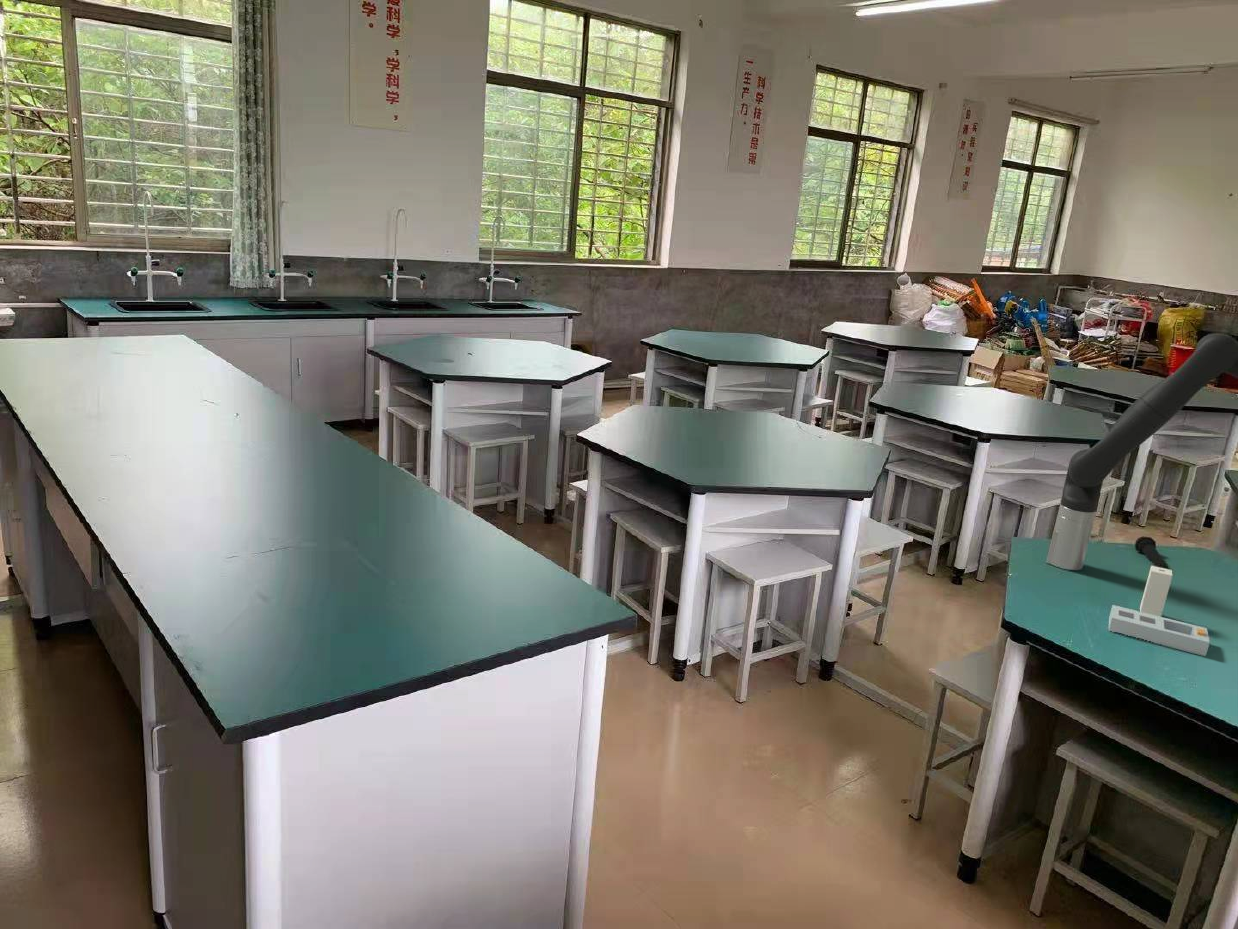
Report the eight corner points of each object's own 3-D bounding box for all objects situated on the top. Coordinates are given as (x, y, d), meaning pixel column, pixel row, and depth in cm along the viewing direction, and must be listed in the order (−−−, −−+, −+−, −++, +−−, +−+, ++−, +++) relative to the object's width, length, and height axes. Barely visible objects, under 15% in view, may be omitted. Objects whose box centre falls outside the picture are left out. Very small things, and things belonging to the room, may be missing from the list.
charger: (1139, 615, 228) (1151, 570, 224) (1139, 609, 232) (1151, 565, 228) (1159, 620, 226) (1172, 575, 223) (1159, 614, 230) (1171, 569, 226)
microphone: (1171, 585, 259) (1144, 552, 277) (1183, 569, 257) (1155, 537, 275) (1153, 578, 259) (1127, 545, 277) (1166, 562, 256) (1139, 529, 275)
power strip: (1108, 631, 217) (1112, 615, 216) (1109, 617, 225) (1113, 602, 224) (1205, 656, 208) (1210, 640, 207) (1202, 641, 216) (1207, 626, 215)
